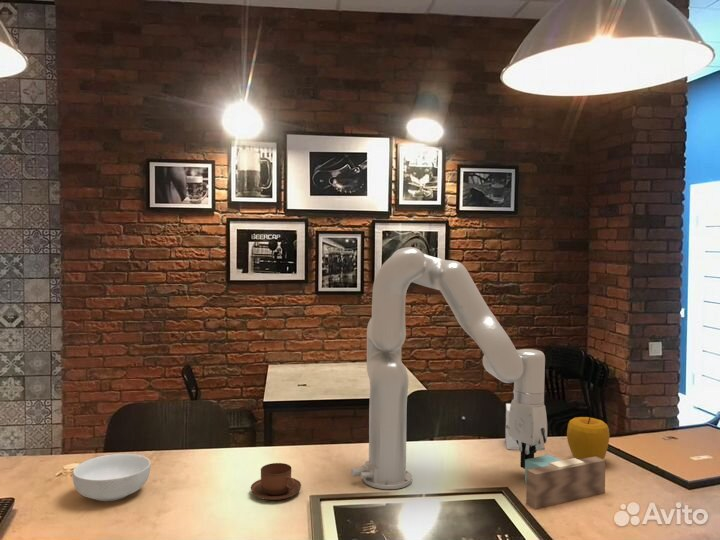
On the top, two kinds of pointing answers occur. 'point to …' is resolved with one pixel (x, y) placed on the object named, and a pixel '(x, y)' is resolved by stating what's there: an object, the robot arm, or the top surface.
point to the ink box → (509, 441)
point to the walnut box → (565, 481)
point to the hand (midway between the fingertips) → (527, 467)
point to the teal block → (538, 462)
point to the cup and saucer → (275, 482)
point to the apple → (588, 437)
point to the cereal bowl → (111, 476)
